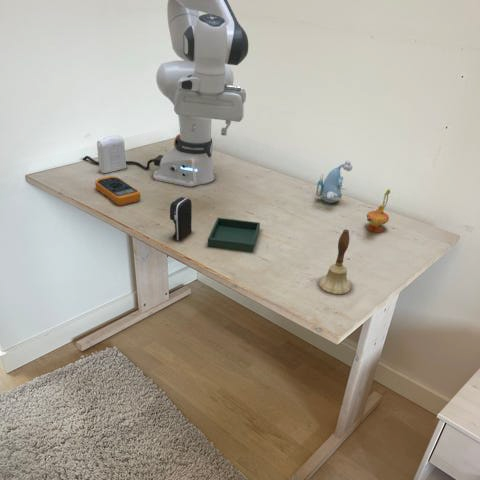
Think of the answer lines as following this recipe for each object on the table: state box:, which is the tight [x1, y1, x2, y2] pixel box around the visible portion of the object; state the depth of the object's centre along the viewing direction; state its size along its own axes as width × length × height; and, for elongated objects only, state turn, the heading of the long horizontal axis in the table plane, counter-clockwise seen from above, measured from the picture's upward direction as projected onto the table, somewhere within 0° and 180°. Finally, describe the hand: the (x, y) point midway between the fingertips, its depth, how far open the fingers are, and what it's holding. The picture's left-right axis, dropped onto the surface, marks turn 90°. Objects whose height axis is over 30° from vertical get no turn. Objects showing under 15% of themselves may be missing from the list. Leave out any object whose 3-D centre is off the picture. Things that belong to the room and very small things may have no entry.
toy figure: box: [315, 160, 353, 204], centre depth 168 cm, size 17×10×15 cm, turn 168°
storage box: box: [207, 217, 261, 253], centre depth 147 cm, size 13×14×3 cm
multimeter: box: [94, 175, 142, 206], centre depth 167 cm, size 9×18×3 cm, turn 40°
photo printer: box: [96, 135, 127, 174], centre depth 181 cm, size 10×4×12 cm, turn 134°
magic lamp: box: [366, 188, 391, 233], centre depth 154 cm, size 7×18×11 cm, turn 149°
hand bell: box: [318, 229, 352, 295], centre depth 125 cm, size 8×8×16 cm
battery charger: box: [169, 196, 193, 242], centre depth 144 cm, size 7×4×11 cm, turn 153°
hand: (208, 133), depth 148 cm, fingers open, 8 cm apart
